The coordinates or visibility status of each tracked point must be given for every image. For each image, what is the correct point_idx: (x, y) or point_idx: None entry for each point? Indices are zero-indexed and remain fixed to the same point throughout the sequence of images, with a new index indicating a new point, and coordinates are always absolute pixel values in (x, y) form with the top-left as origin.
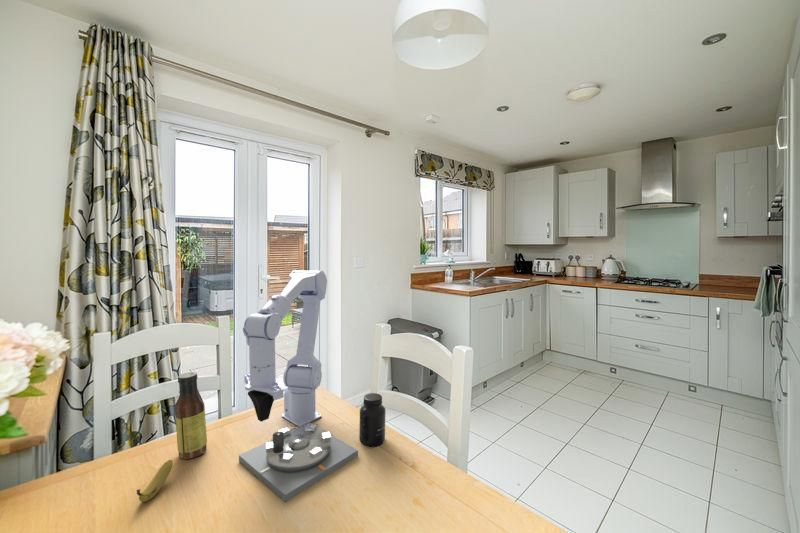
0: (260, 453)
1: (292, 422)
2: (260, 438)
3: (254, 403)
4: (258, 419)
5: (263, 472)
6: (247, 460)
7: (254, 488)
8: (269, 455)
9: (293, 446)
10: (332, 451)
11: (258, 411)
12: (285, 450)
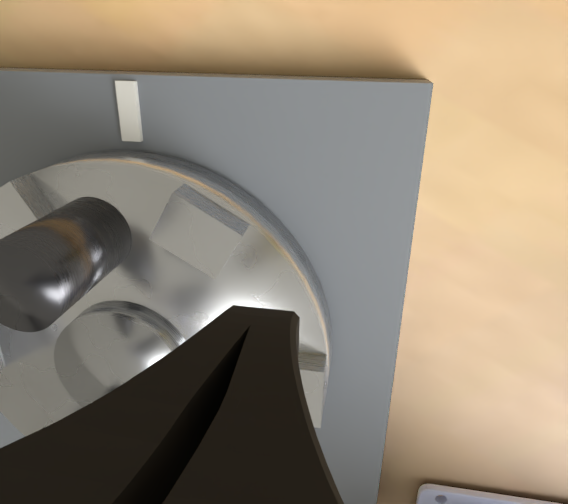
0: (320, 192)
1: (495, 495)
2: (538, 307)
3: (226, 463)
4: (281, 313)
5: (118, 92)
6: (317, 92)
7: (98, 6)
8: (139, 178)
9: (84, 314)
10: None
11: (176, 369)
12: (120, 271)
